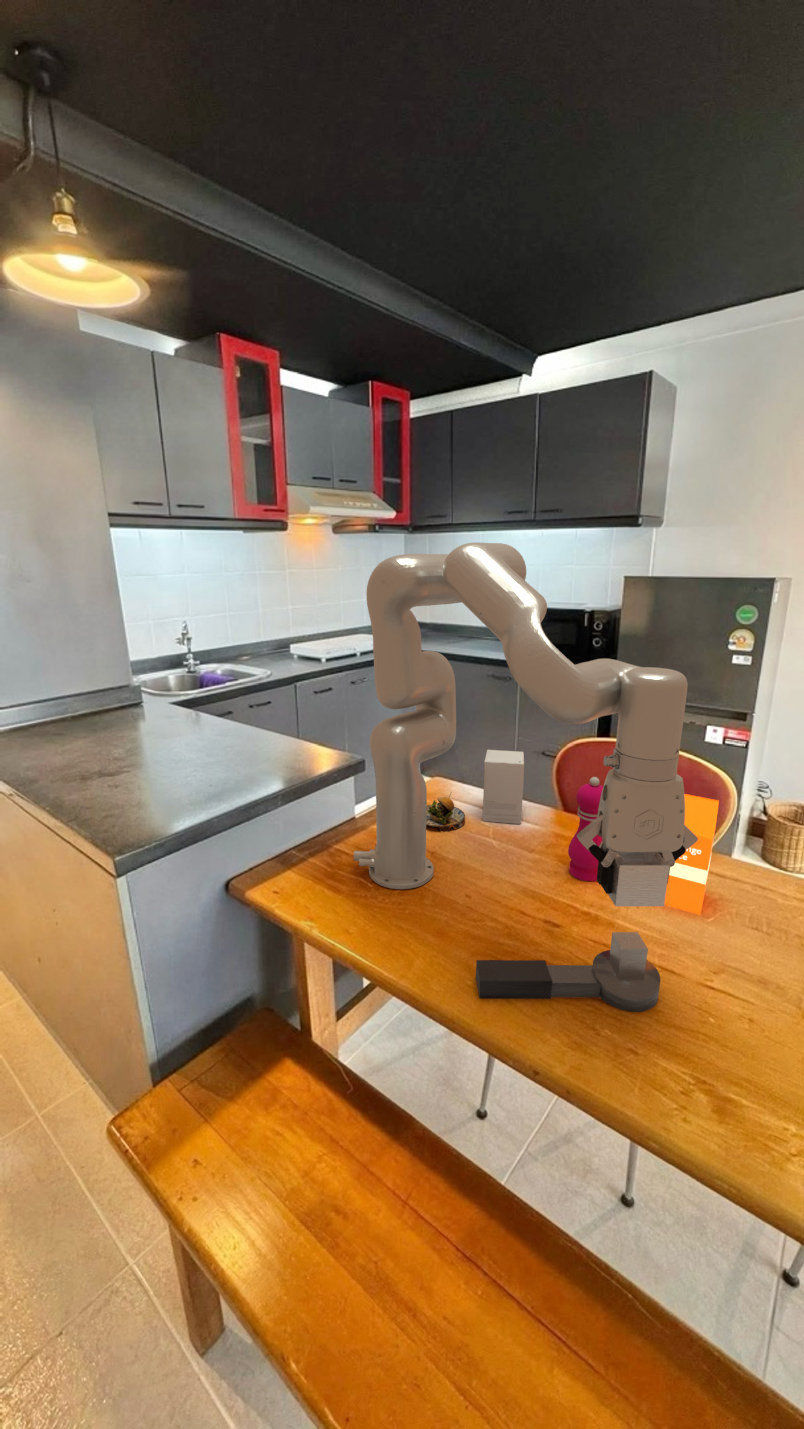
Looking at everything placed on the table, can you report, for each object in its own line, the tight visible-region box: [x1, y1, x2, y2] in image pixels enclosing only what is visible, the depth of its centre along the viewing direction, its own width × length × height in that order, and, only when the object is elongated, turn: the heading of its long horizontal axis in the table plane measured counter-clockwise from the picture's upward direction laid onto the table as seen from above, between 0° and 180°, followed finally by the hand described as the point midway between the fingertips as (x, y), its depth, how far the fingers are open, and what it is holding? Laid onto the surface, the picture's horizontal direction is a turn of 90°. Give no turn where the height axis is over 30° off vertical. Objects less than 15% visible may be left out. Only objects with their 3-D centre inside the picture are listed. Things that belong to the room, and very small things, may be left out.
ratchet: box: [475, 931, 661, 1013], centre depth 82 cm, size 26×9×8 cm, turn 90°
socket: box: [607, 852, 670, 907], centre depth 78 cm, size 6×6×6 cm
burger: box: [426, 793, 466, 833], centre depth 134 cm, size 12×12×8 cm
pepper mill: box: [567, 776, 604, 882], centre depth 110 cm, size 7×7×20 cm
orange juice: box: [664, 793, 720, 916], centre depth 102 cm, size 8×9×20 cm
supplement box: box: [482, 749, 525, 825], centre depth 136 cm, size 9×9×15 cm
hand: (631, 887), depth 79 cm, fingers closed on socket, 6 cm apart
